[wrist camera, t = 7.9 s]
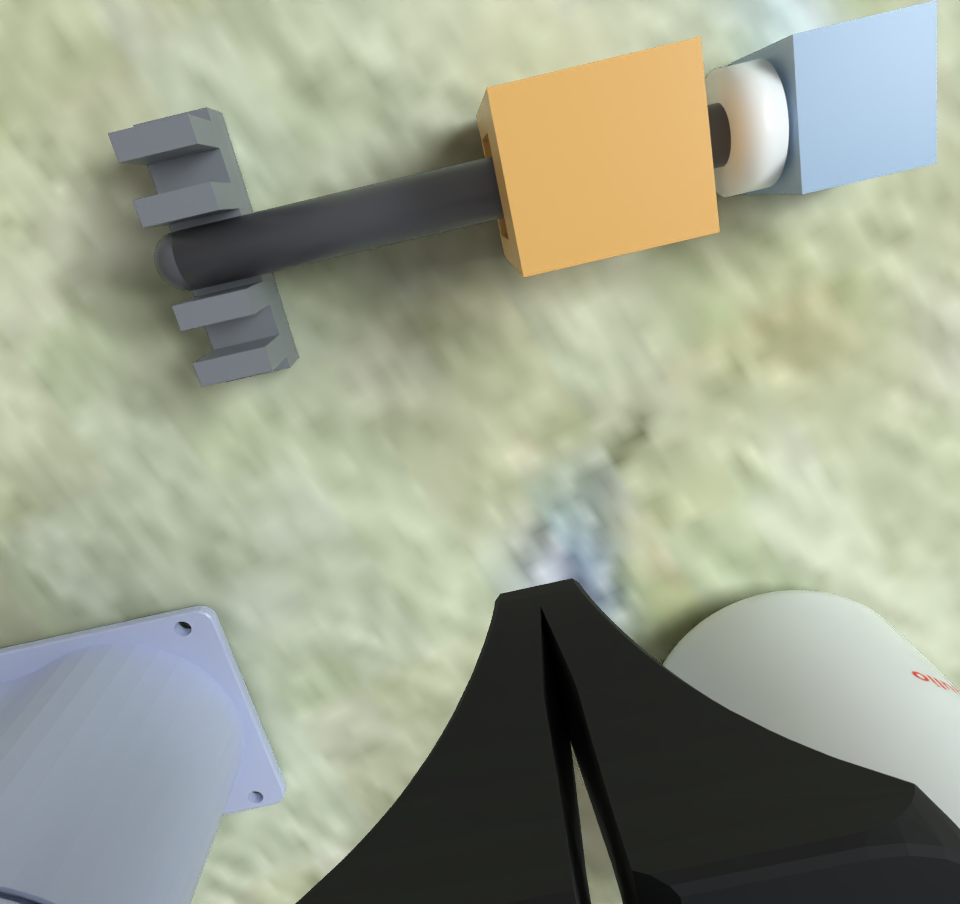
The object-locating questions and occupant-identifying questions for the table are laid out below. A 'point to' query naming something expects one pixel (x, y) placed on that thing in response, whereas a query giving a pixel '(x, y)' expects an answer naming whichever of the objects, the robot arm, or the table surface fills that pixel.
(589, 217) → the sleeve
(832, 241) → the table surface
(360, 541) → the table surface
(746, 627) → the mug
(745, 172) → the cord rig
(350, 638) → the table surface
